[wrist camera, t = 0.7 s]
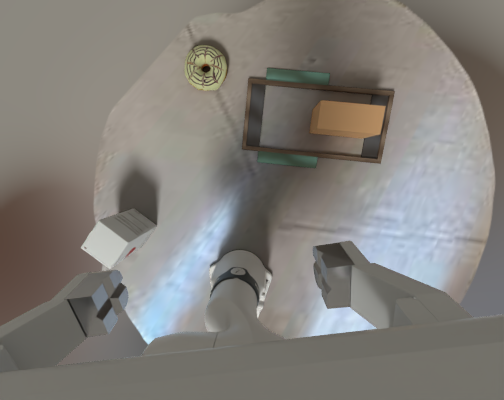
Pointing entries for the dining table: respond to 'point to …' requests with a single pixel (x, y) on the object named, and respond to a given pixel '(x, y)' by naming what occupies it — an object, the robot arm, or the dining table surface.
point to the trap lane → (308, 81)
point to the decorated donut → (205, 57)
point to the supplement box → (118, 237)
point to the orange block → (347, 119)
